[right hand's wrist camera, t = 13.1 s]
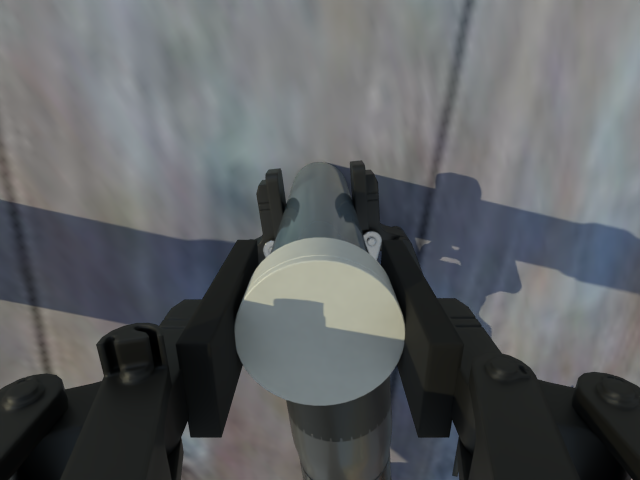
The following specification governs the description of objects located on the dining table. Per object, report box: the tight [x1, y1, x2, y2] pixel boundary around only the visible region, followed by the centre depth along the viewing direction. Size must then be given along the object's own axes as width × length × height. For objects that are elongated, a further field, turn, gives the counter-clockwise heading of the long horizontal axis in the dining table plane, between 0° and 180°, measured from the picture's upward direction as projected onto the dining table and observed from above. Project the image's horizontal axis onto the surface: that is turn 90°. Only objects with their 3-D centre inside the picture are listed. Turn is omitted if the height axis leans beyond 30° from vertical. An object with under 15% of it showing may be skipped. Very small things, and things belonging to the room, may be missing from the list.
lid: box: [234, 238, 405, 406], centre depth 11 cm, size 5×5×2 cm
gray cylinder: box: [270, 162, 370, 254], centre depth 20 cm, size 4×4×19 cm
